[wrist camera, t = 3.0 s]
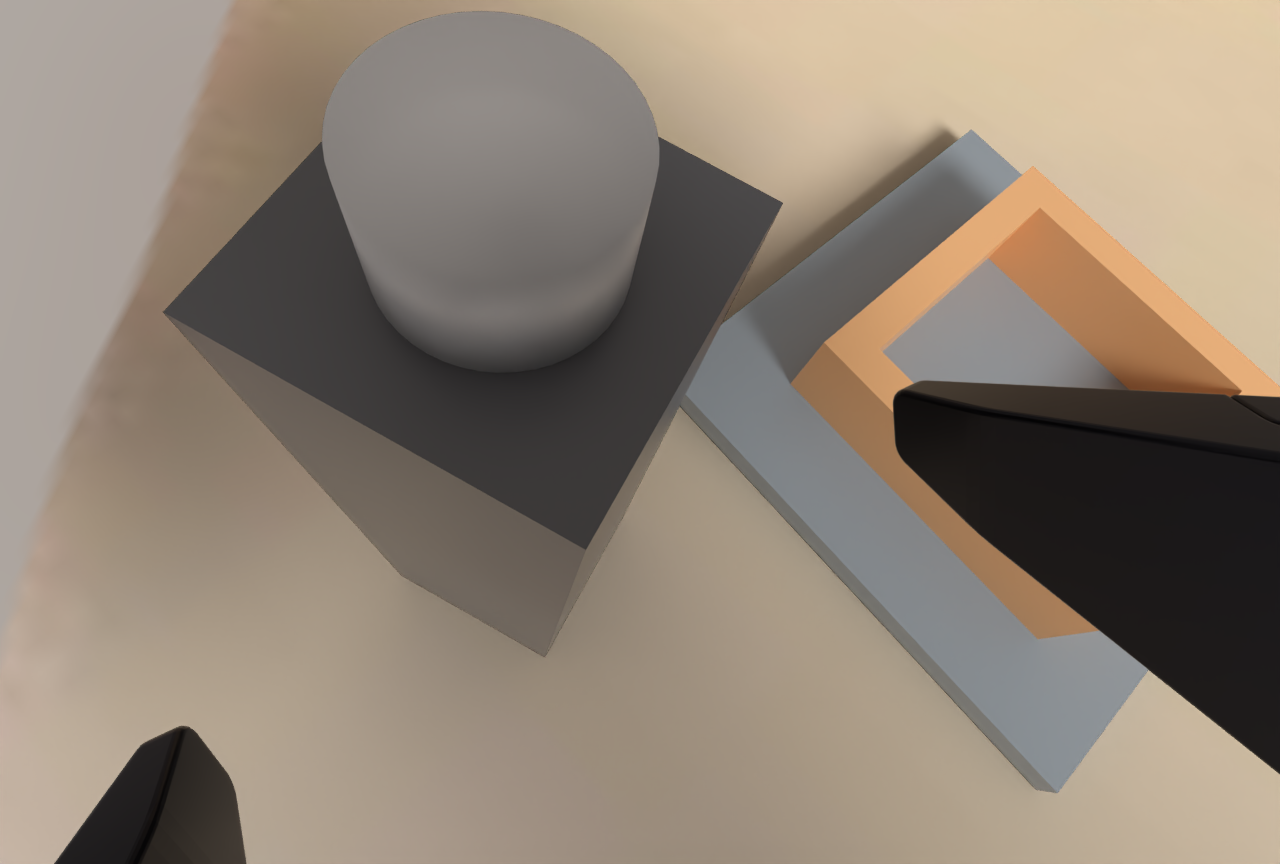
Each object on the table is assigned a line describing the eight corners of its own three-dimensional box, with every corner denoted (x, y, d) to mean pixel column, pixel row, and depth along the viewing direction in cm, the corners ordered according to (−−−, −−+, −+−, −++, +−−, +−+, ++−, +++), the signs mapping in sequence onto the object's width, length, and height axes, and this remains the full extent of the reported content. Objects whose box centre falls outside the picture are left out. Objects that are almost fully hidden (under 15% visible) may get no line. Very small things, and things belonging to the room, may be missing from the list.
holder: (1036, 789, 19) (1136, 805, 16) (658, 382, 21) (680, 325, 18) (1292, 449, 23) (1408, 409, 20) (958, 146, 26) (1017, 69, 23)
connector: (545, 657, 18) (604, 501, 5) (401, 575, 18) (58, 199, 5) (623, 515, 20) (842, 87, 6) (489, 441, 20) (417, -136, 6)
